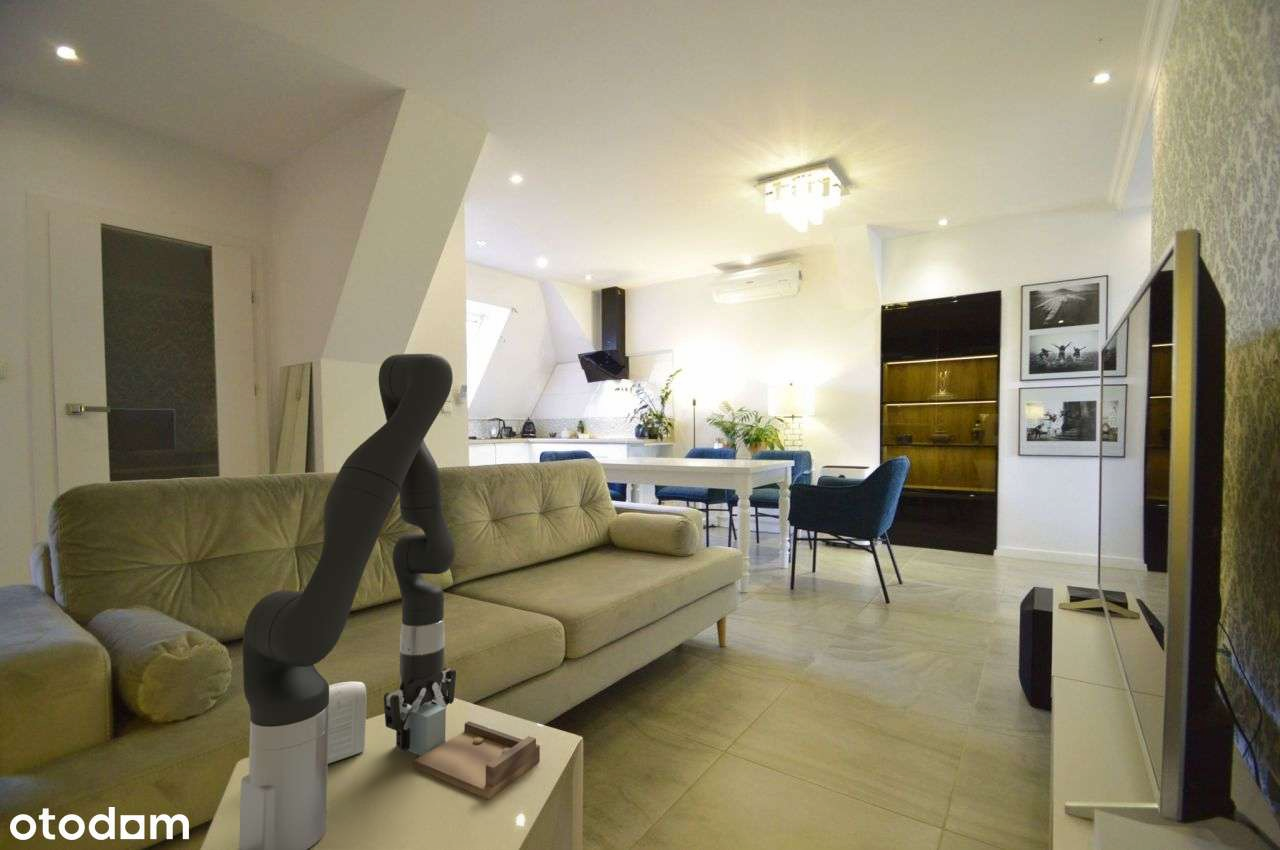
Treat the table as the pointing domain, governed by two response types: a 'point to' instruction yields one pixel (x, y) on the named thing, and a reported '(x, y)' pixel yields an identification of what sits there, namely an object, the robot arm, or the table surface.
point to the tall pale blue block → (427, 728)
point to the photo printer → (346, 720)
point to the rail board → (480, 759)
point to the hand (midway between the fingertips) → (420, 739)
